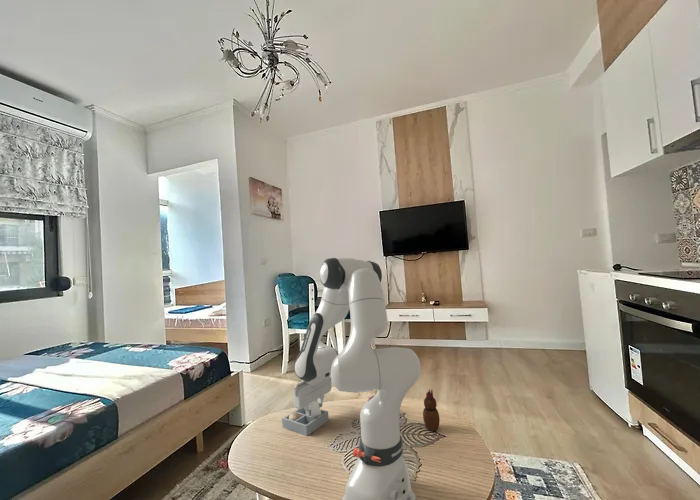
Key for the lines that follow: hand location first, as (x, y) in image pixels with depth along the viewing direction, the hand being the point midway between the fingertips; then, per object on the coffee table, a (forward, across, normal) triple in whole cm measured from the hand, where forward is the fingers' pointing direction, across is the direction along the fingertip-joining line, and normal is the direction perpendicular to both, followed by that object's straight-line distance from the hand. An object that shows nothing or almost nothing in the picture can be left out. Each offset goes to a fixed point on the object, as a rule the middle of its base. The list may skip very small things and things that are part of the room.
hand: (314, 410), depth 131 cm
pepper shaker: (+2, +1, 0) cm, 3 cm away
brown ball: (+4, -5, +6) cm, 9 cm away
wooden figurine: (+5, +17, -43) cm, 47 cm away
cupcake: (+5, +18, -19) cm, 27 cm away
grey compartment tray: (+5, -2, +3) cm, 6 cm away
